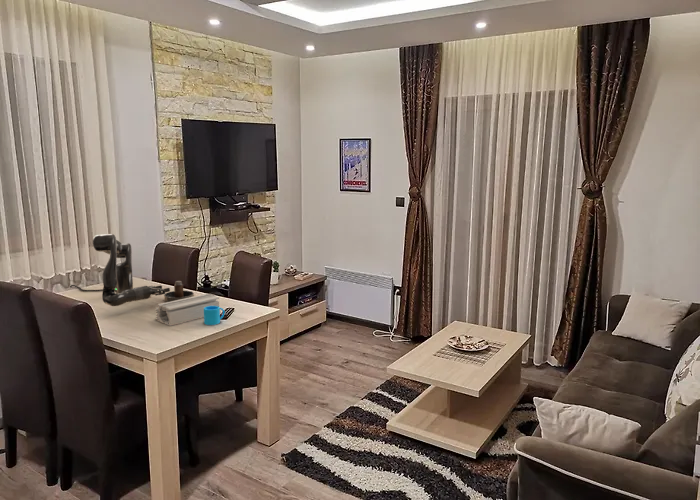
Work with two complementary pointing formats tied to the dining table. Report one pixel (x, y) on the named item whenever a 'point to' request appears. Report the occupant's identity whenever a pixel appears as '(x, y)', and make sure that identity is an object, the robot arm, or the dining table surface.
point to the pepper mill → (178, 289)
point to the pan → (171, 297)
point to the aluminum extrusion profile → (185, 309)
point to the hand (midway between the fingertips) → (165, 288)
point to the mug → (212, 315)
